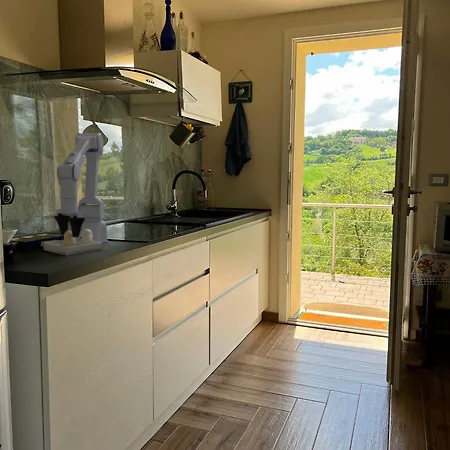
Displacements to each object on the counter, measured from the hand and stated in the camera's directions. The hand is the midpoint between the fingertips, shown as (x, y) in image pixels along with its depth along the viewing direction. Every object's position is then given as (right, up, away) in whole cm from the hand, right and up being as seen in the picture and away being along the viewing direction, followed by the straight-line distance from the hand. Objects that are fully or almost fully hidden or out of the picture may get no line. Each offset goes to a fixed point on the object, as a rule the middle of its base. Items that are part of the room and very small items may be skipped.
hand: (69, 235), depth 163 cm
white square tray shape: (-1, -5, +6) cm, 8 cm away
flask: (-11, -2, +32) cm, 34 cm away
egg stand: (-11, -4, +13) cm, 18 cm away
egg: (0, -5, 0) cm, 5 cm away
